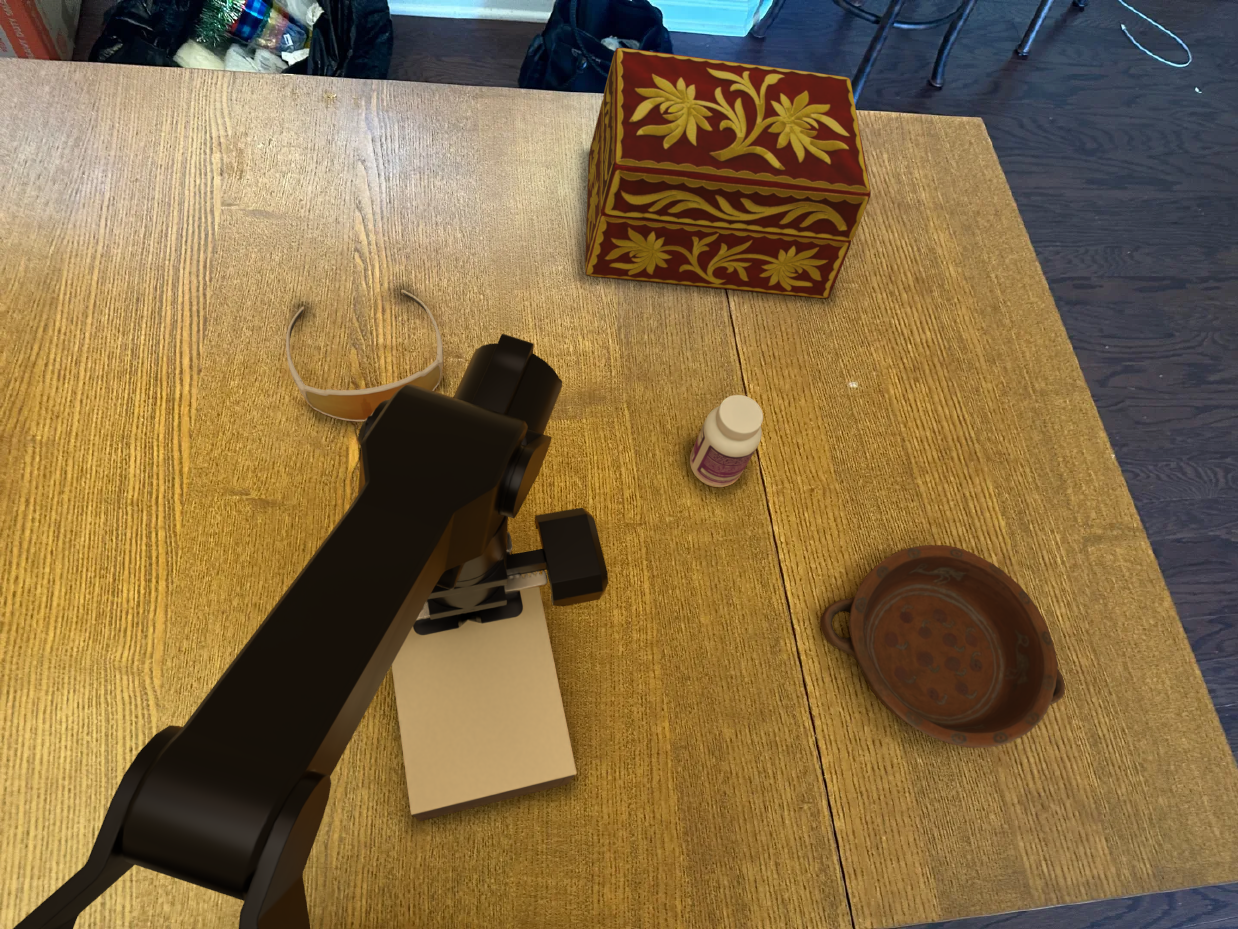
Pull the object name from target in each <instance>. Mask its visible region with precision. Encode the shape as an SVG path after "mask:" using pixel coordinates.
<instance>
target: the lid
mask: <svg viewBox="0 0 1238 929" xmlns="http://www.w3.org/2000/svg"><path fill="white" fill-rule="evenodd" d="M533 573H534V575H536V573H537V572H533ZM527 574H528V576H529V577H530V575H531V573H527ZM522 577H523V578H524V577H525V574H522ZM520 594H521V599H522V604H523V611H522V613H521V614H520V615H519V616H517V617H514V618H509V619H504V620H499V621H494V622H489V623H483V624H481V623H477V622H473V621H469V620H468V621H467V622H465V623H464V624H463V625H462V626H461V627H460V628H458V629H453V630H448V631H443V632H438V633H433V634H428V635H419V634H417V633H416V632H415V631H414V629H413V627H412V629H411V630H410V632H409V634H408V636H407V638H406V640H405V641H404V643H403V645H402V647H401V649H400V651H399V652H398V654H397V656H396V658H395V660H394V661H393V663H392V665H391V672H392V680H393V687H394V694H395V703H396V710H397V719H398V725H399V734H400V741H401V742H400V743H401V749H402V757H403V765H404V772H405V780H406V787H407V794H408V795H407V796H408V802H409V803H408V804H409V810H410V811H409V812H410V815H411V816H413V815H414V814H418V813H422V812H426V811H430V810H434V809H438V808H442V807H446V806H450V805H454V804H459V803H463V802H467V801H471V800H475V799H479V798H483V797H487V796H491V795H495V794H499V793H503V792H507V791H511V790H515V789H519V788H523V787H527V786H531V785H535V784H539V783H543V782H548V781H552V780H556V779H560V778H564V777H568V776H572V775H575V774H576V775H577V768H576V762H575V757H574V753H573V749H572V744H571V743H572V742H571V738H570V733H569V728H568V723H567V718H566V714H565V708H564V704H563V699H562V693H561V688H560V682H559V679H558V674H557V669H556V664H555V660H554V654H553V649H552V644H551V639H550V634H549V628H548V624H547V619H546V614H545V609H544V604H543V599H542V595H541V594H542V593H541V590H540V587H535V588H530V589H525V590H520ZM576 775H575V776H576Z"/></svg>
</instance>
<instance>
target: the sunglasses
mask: <svg viewBox="0 0 1238 929" xmlns="http://www.w3.org/2000/svg"><path fill="white" fill-rule="evenodd" d="M400 291H401V294H402V295H403V296H404V297H406V298H408V299H409V300H411V301H413V302H415V303H416V304H417V305H418V306H419V307H420V308H422V310H423V311H424V312H425V314H427V316H428V318H429V320H430V322H431V325H432V326H433V327H434V330H435V335H436V356H435V357H436V358H435V360H434V361H432V363H430V364H429V365H428V366H427V367H426V368H424V369H423V370H419V371H417V372H415V373H412V374H411V375H408V376H407V377H405V378H402V379H400V380H396V381H394V382H390V383H386V384H382V385H379V386H374V387H367V388H360V389H330V388H329V389H328V388H327V389H321V388H316V387H313V386H310V385H307V384H305V382H304V381H303V380H302V378H301V376H300V374H299V372H298V371H297V369H296V367H295V365H294V361H293V359H292V355H291V337H292V332H293V330H294V328H295V326H296V324H297V322H298V321H299V320H300V318H301V316H302V315H303V314H304V312H305V307H304V306H301V307H300V308H299V309H298V310H297V312H296V313H295V314H294V316H293V317H292V319H291V321H290V322H289V325H288V327H287V330H286V336H285V352H286V361H287V366H288V368H289V372H290V375H291V377H292V379H293V381H294V384H295V385H296V387H297V389H298V391H299V393H300V394H301V395H302V396H303V398H304V400H305V401H306V403H307V405H309V407H311V408H312V409H313V410H315V411H317V412H319V413H321V414H322V415H325V416H328V417H331V418H334V419H337V420H342V421H347V422H361V423H363V422H364V421H365V420H366V419H367V418H368V416H369V415H372V414H373V412H374V410H375V409H376V408H377V406H378V405H379V404H380V403H381V402H383V401H385V400H389V399H391V397H392V396H393V395H394V393H395V392H396V391H398V390H399V389H400V388H402V387H403V386H405V385H408V384H412V385H415V386H419V387H422V388H425V389H428V390H431V391H434V392H435V390H436V389H437V387H438V386H439V385H440V383H441V381H442V378H443V367H444V344H443V340H442V339H443V338H442V335H441V332H440V329H439V327H438V324H437V322H436V320H435V317H434V315H433V314H432V312H431V310H430V308H429V307H428V306H427V304H425V303H424V302H423V301H422V300H421V299H420V298H418V297H417V296H415V295H414V294H412V293H410V292H409V291H406V290H404V289H401V290H400Z"/></svg>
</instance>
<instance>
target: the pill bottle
mask: <svg viewBox="0 0 1238 929" xmlns="http://www.w3.org/2000/svg"><path fill="white" fill-rule="evenodd" d="M763 422H764V412H763V410H762V408H761V406H760V405H759V403H758V402H757V401H756V400H755V399H753V398H751V397H749V396H747V395H743V394H733V395H729V396H727V397H726V398H725V399H723V401H721V403H720V405H718V406H716V407H714V408H713V409H712V410H710V412H709V413H708V414H707V416H706V417H705V419H704V422H703V424H702V427H701V428H700V431H699V433H698V435H697V438H696V440H695V442H694V445H693V447H692V449H691V452H690V456H689V464H690V468H691V471H692V473H693V474H694V476H695V477H696V478H697V479H698V480H699V481H700V482H702V483H703V484H704V485H707V486H710V487H714V488H724V487H727V486H730V485H733V484H734V483H736V482H737V481H738V480H739V478H740V477H741V476H742V474H743V472H744V471H745V469H746V467H747V466H748V464H749V462H750V460H751V459H752V457H753V455H754V454H755V452H756V451H757V449H758V448H759V445H760V443H761V440H762V436H763V435H762V434H763V433H762V432H763V431H762V430H763V429H762V425H763Z"/></svg>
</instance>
